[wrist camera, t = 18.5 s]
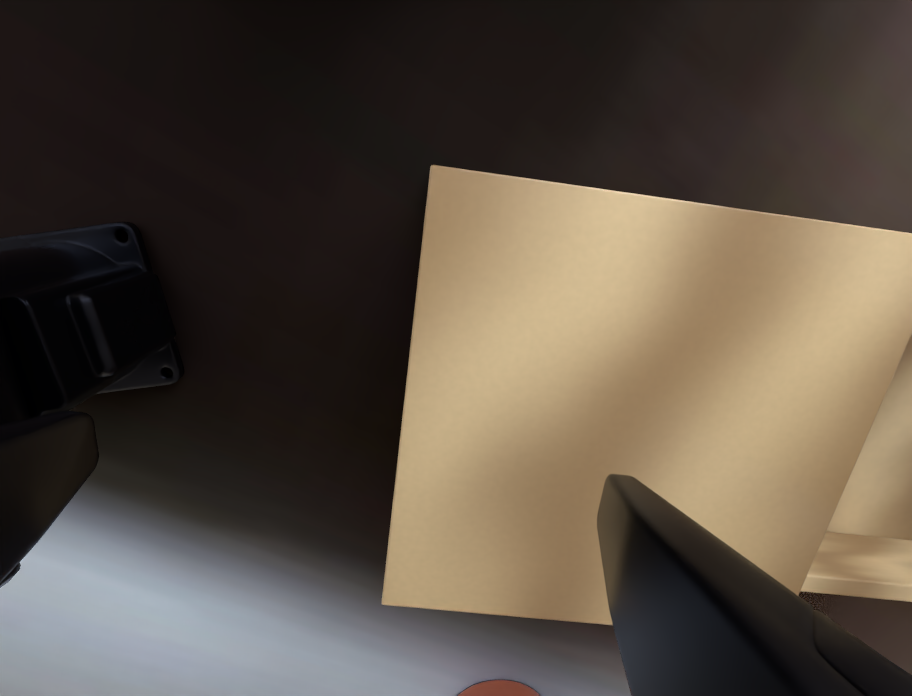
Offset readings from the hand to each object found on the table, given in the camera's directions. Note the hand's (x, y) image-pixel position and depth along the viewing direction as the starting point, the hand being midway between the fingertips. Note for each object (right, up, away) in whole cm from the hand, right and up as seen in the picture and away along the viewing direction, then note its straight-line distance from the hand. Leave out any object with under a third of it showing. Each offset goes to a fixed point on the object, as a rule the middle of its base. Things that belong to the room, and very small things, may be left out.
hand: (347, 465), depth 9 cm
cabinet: (+7, +1, +13) cm, 15 cm away
